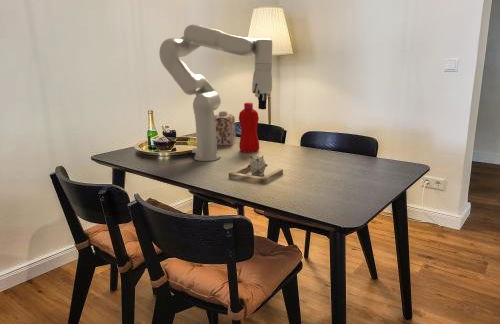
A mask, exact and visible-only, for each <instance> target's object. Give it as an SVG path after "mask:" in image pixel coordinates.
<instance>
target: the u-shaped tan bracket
mask: <svg viewBox="0 0 500 324" xmlns="http://www.w3.org/2000/svg"><path fill="white" fill-rule="evenodd" d="M249 164H250V163H248V164H246V165H244V166H241V167H239V168H238V169H237V168H236V169H235V170H232V171H231V172H229V173H228V179H234V180H238V181H245V182H250V183H255V184H256V183H257V184H261V185H266V184H268V183H270V182H271V181H273V180H274V179H276V178H279V177H280V176H282V175H283V174H284V169H283V168H277V169H275V170H273V171H272V172H270V173H268V174H266V175H264V176H263V177H262V176H257V175H253V176H252V174H246V173H248V172H249V171H250V172H251V170H250V168H249V167H247V166H248V165H249Z"/></svg>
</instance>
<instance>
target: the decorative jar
mask: <svg viewBox="0 0 500 324" xmlns="http://www.w3.org/2000/svg"><path fill="white" fill-rule="evenodd" d="M214 116H215V122H216V142H217V146H234V144H235V143H236V120H235V119H236V118H235V115H234V114H231V113H230V114H229V113H228V111H225V110H224V111H223V110H221V111H219V112H218V114H214Z"/></svg>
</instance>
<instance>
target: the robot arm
mask: <svg viewBox="0 0 500 324" xmlns="http://www.w3.org/2000/svg"><path fill="white" fill-rule="evenodd" d="M200 47H204V48H208V49H213V50H216V51H221V52H225V53H229V54H233V55H236V56H242V57H244V56H245V57H247V56H249V57H250V56H254V71H253V75H252V83H251V93H252V94H254V97H255V98H257V100H258V107H257V108H258V110H266V109H267V100H268V96H270V95H271V93H272V90H273V75H272V71H273V69H272V68H273V67H272V66H273V40H272V39H271V38H251V37H244V36H238V35H237V36H236V35H233V34H230V33H229V34H228V33H226V32H223V31H222V30H220V29H215V28H211V27H206V26H203V25H200V24H189V25H187V26H186V27H185V28H184V31H183V36H181V37H180V38H176V37H173V38H171V37H170V38H167V39H165V40H163V41H162V43H161V44H160V47H159V58H160V62H161V64H162V66H163V67H164V69H166V71H167V72H168V73H169V75H170V76H171V77H172V79H173V80H174V82H176V84H177V85H178V86H179V88H180V89H181V90H182V92H183V93H184V94H186V95H188V96H193V95H195V97H194V99H193V101H192V108H193V114H194V120H195V121H194V122H195V133H196V134H195V135H196V136H195V137H196V147H193V148H192V150H191V153H193V154H194V160H195V161H198V162H213V161H217V160H219V159H221V154H219V153H218V145H217V142H216V122H215V116H214V115H215V112H214V111H215V110H217V109H218V108H219V107H220V106H221V102H222V101H221V97H220V95H219V93H218V92H217V90H215V88H214V87H213V85H212V84H211V83H210V82H209V80H208V79H207V78H205V76H204V75H202V74H200V73H193V72H192V71H191V70H190V69H189V67H188V65H186V63H185V62H184V61H182V59H180V58H184V57H186V56H188V55H190V54H192V53H193V52H194V51H196V50H197V49H198V48H200Z"/></svg>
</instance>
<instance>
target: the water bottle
mask: <svg viewBox="0 0 500 324" xmlns="http://www.w3.org/2000/svg"><path fill="white" fill-rule="evenodd" d="M243 107H244V108H242V110H241V111H240V112H239V113H238V114H239V116H238V121H239V125H240V129H241V132H240V137H239V144H238V145H239V148H238V149H239V150H240V151H241V152H244V153H249V154H250V153H255V152H258V151H259V150H260V141H259V140H260V139H259V137H258V133H257V132H258V125H259V119H260V117H259V113H258V111H257V110H256V109H254V108H253V107H254V103H252V102H244V103H243Z"/></svg>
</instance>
